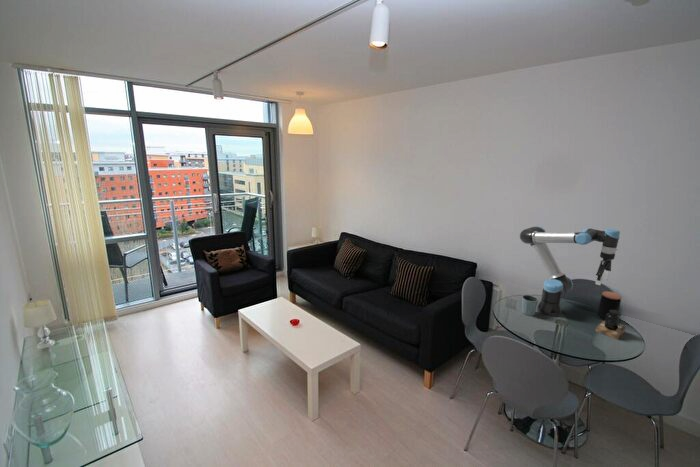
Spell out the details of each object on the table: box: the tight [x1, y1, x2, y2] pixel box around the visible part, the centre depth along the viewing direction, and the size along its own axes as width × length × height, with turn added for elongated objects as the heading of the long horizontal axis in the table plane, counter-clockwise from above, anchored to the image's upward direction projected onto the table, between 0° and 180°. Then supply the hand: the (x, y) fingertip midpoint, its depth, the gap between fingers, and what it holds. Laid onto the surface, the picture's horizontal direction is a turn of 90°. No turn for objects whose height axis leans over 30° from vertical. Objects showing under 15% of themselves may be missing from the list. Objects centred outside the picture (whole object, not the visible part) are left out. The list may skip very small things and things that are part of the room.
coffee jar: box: [597, 290, 622, 321], centre depth 225 cm, size 11×11×18 cm
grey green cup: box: [521, 294, 539, 317], centre depth 233 cm, size 10×10×12 cm
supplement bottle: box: [604, 310, 620, 330], centre depth 208 cm, size 7×7×12 cm
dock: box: [595, 320, 626, 341], centre depth 210 cm, size 12×13×5 cm
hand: (601, 282), depth 217 cm, fingers open, 13 cm apart
